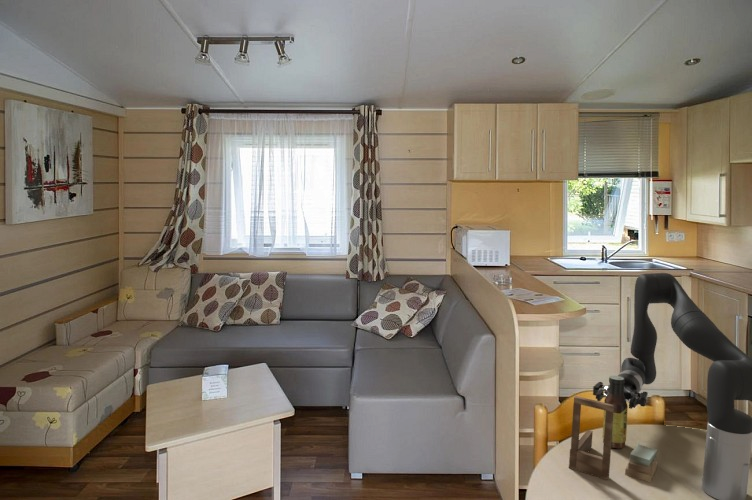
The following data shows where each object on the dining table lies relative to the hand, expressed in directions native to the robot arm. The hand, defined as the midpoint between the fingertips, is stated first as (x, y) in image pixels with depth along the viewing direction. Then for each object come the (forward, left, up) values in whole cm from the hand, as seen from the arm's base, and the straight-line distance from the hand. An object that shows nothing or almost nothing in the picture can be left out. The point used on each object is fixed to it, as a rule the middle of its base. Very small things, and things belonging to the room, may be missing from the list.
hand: (614, 401), depth 156 cm
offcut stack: (-10, +9, -14) cm, 19 cm away
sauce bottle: (0, -2, -14) cm, 14 cm away
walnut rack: (+1, +12, -13) cm, 18 cm away
